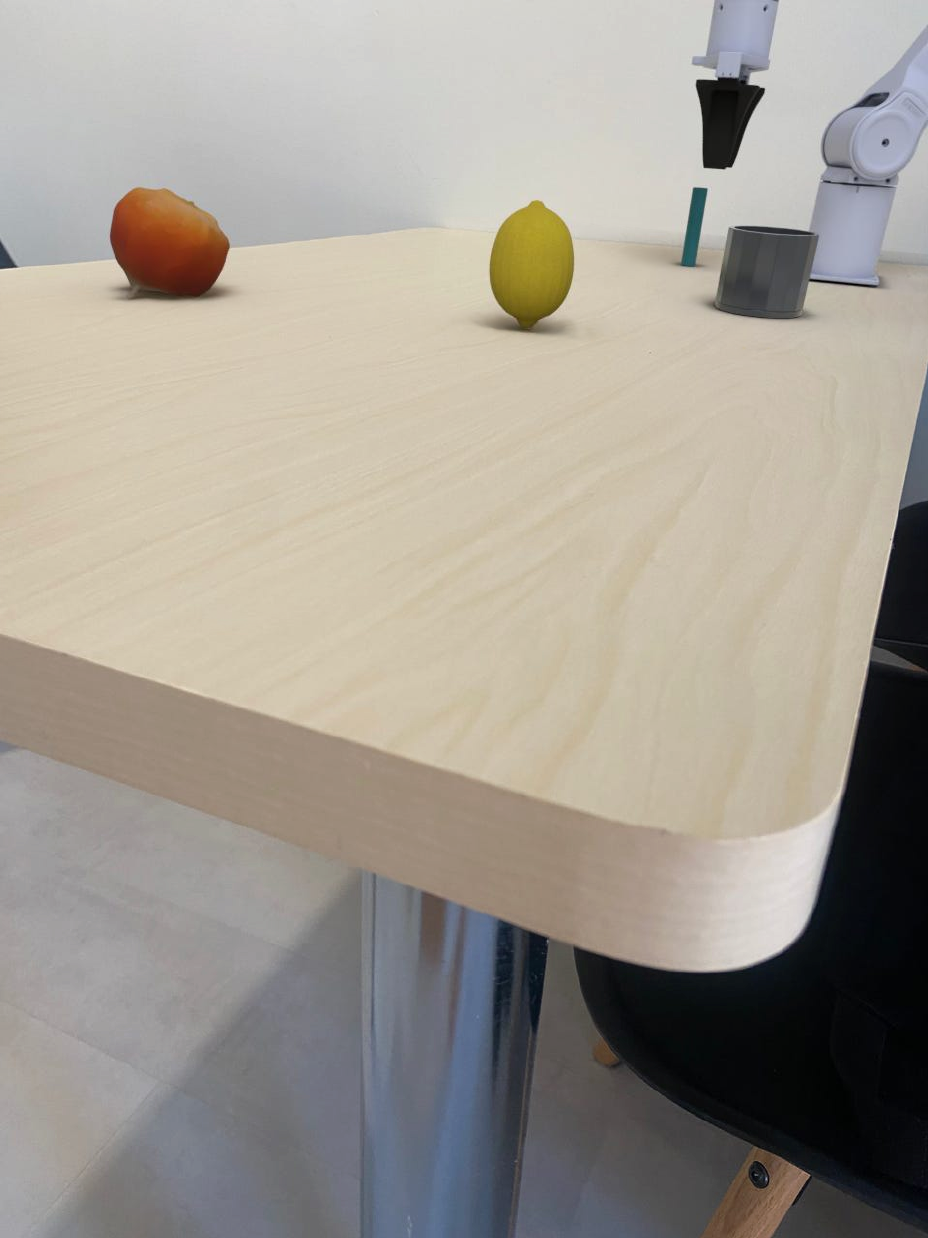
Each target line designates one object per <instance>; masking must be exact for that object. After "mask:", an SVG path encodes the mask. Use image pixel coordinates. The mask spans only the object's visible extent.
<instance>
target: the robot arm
mask: <svg viewBox="0 0 928 1238" xmlns="http://www.w3.org/2000/svg"><path fill="white" fill-rule="evenodd" d="M779 2H780V0H714V2H713V7H712V14H711V21H710V27H709V34H708V40H707V45H706V53H705V55H704V56H703V55H701V56H700V55H693V56H692V60H691V65H693V66H694V67H702V68H705V69H710V70H715V73H714V77H715V78H717V79H701V78H699V79H696V80H695V89H696V94H697V97H698V100H699V106H700V112H701V124H702V134H701V135H702V137H701V138H702V139H701V140H702V142H701V143H702V144H701V145H702V148H701V151H702V152H701V153H702V166H703V169H709V170H710V169H711V170H727V169H728V168H729V169H732V168H733V167H734V164H735V162H736V159H737V156H738V154H739V151H740V148H741V145H742V141H743V138H744V136H745V132H746V131H747V127H748V125H749V123H750V120H751V118H752V116H753V114H754V112H755V110H756V108H757V107H758V105H759V103H760V102H761V100H762V99H763V96H764V95H765V94H766V93H765V92H766V88H765V87H761V86H760V85H757V84H750V79H751V73H758V72H765V71H768V70H769V69H770V65H771V59H769V57H770V53H771V47H772V42H773V36H774V31H775V25H776V19H777V13H778V10H779V9H778V7H779ZM927 127H928V24H926V26H925V27H924V29H923V30H922V31H920V33H919V35H918V36H917V37H916V39H915V40H914V41H913V42H912V43H911V45H909V46H908V49H907V50H906V51H905V52H904V53H903V54H902V56H901V57H900V58H899V59H898V61H897V62H896V64H894V66H893V67H892V68H891V69H890V70H889V71H887V72H886V73H884V75H883V76H881V77H880V78H879V79H877V80H876V81H875V82H874V83H873V84H871V85H870V86H869V87H868V89H866V91H865V92H864V93H863V94H862V96H861V97H860V98H859V99H858V100H857V101H856V102H854V103H853V104H852V105H850V106H848V107H847V108H845V109H842V110H841V111H840V112H838V113H837V114H835V115H834V116H833V117H832V118H831V120H830V121H829V122H828V123H827V125H826V127H825V128H824V131H823V133H822V137H821V140H820V154H821V158H822V161H823V163H824V165H825V167H826V168H825V169H824V172H823V173H822V174H820V178H819V180H820V181H819V182H818V187H817V192H816V196H815V200H814V205H813V210H812V215H811V219H810V222H809V229H808V231H811V232H815V233H819V239H818V243H817V248H816V252H815V257H814V261H813V266H812V270H811V275H810V279H809V280H819V281H829V282H837V283H838V282H839V283H848V284H856V285H857V284H858V285H868V286H878V285H880V278H879V276H878V273H877V266H878V263H879V259H880V254H881V251H882V246H883V242H884V239H885V234H886V230H887V226H888V224H889V220H890V215H891V211H892V207H893V202H894V199H895V196H896V192H897V188H898V187H897V186H898V185H899V180H900V176H899V173H900V172H902V171H903V170H904V169H905V168H906V167H907V166H908V165H909V163H910V162H911V161H912V159H913V158H914V156H915V154H916V152H917V150H918V146H919V143H920V141H921V137H922V135H923V133H924V132H925V130H926V129H927Z"/></svg>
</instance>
